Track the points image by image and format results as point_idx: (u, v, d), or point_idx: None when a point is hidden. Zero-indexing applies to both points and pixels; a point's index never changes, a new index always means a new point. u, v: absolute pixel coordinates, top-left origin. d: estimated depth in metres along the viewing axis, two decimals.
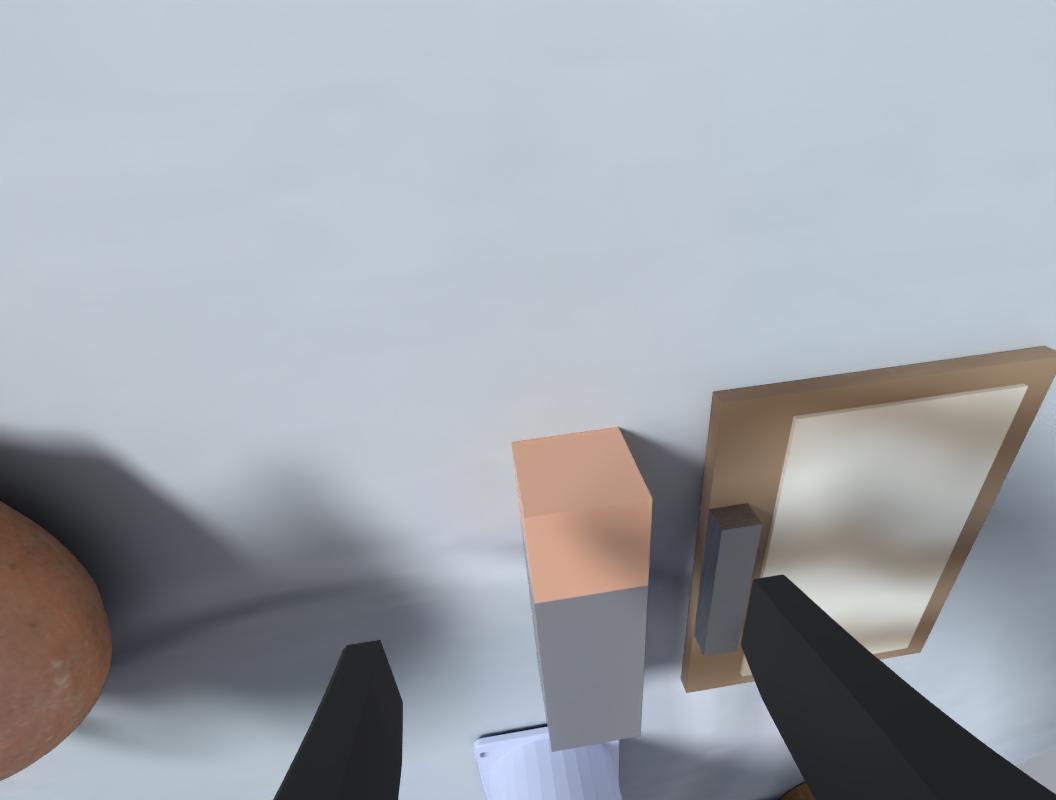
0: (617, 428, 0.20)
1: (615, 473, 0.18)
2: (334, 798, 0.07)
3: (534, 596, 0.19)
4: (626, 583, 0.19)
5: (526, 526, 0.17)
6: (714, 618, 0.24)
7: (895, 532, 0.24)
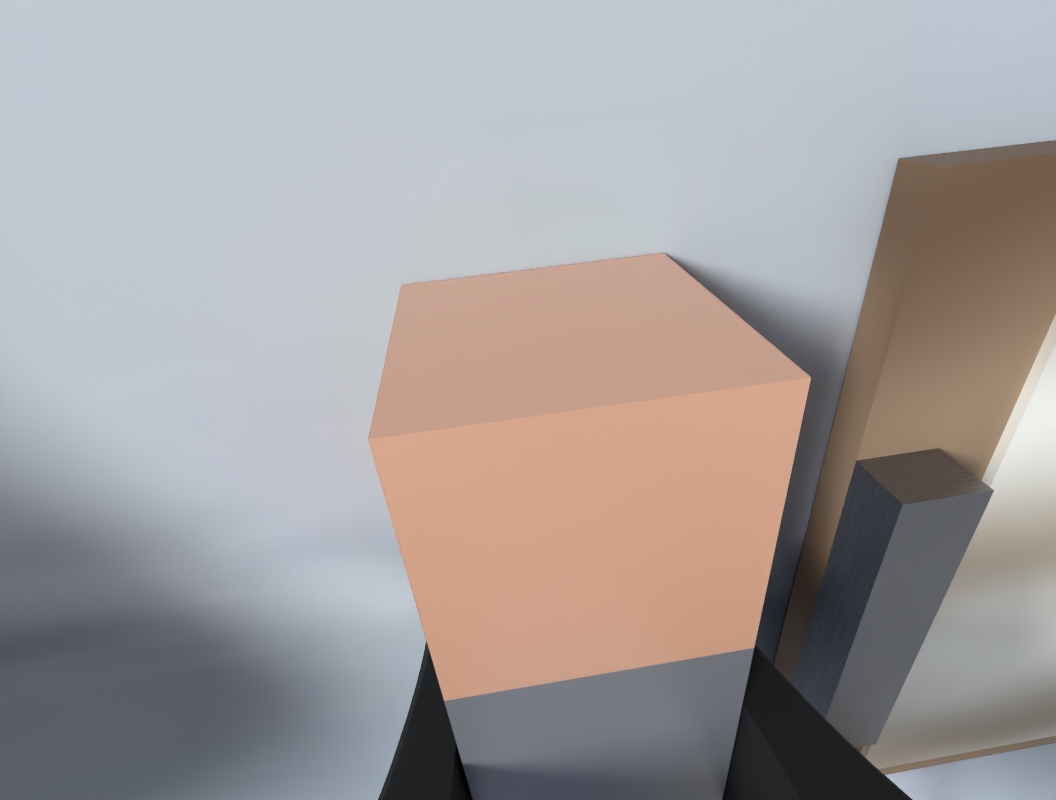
0: (662, 255, 0.08)
1: (673, 327, 0.06)
2: (449, 777, 0.07)
3: (442, 682, 0.07)
4: (695, 643, 0.07)
5: (381, 472, 0.05)
6: (846, 690, 0.12)
7: None
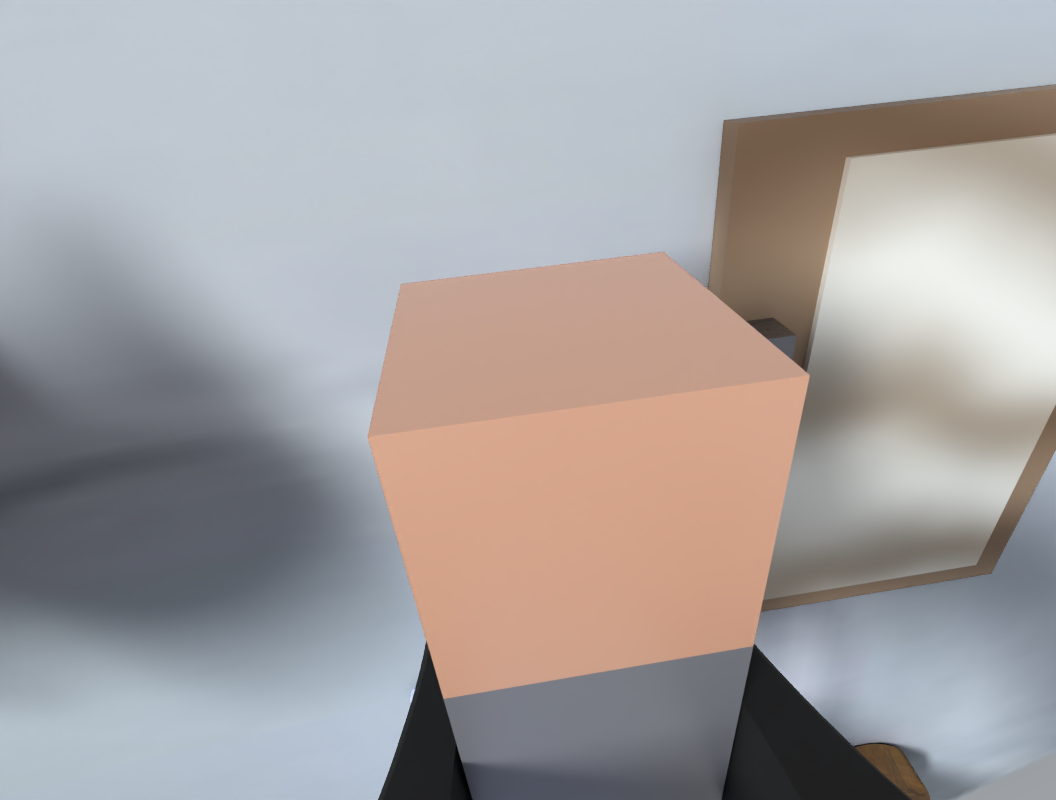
0: (661, 254, 0.08)
1: (673, 324, 0.06)
2: (449, 777, 0.07)
3: (441, 680, 0.07)
4: (694, 641, 0.07)
5: (380, 469, 0.05)
6: None
7: (978, 377, 0.17)
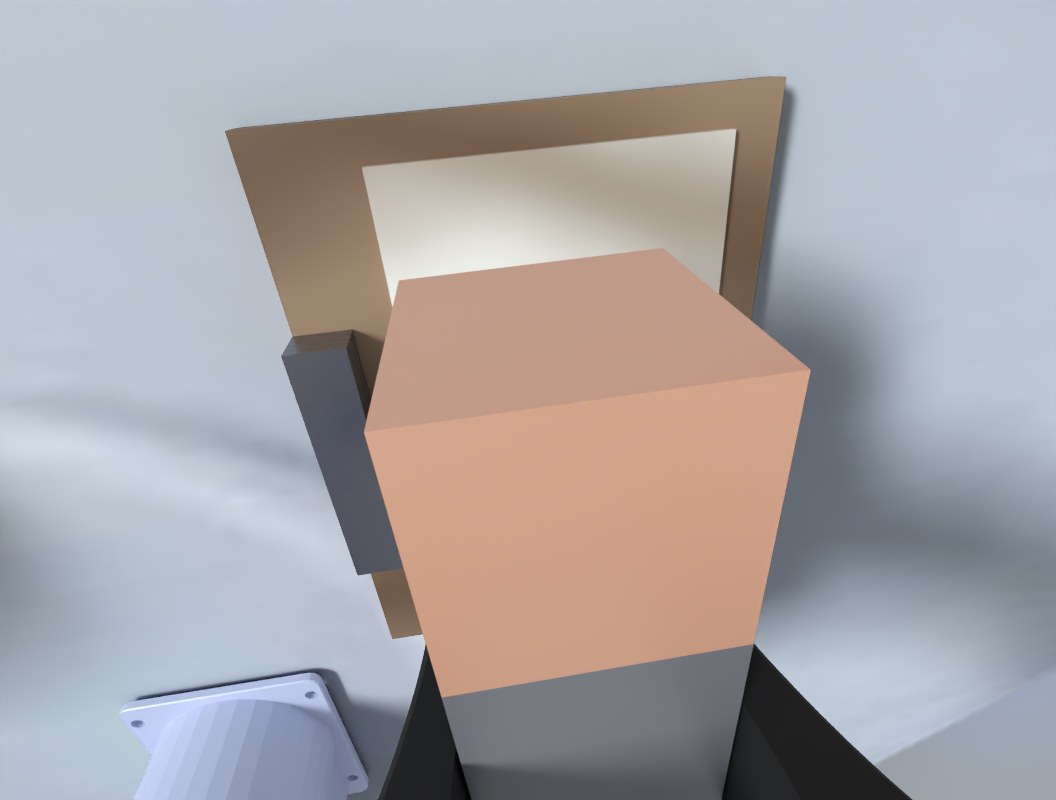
0: (661, 250, 0.08)
1: (673, 320, 0.06)
2: (449, 777, 0.07)
3: (439, 678, 0.07)
4: (694, 640, 0.07)
5: (377, 465, 0.05)
6: (345, 513, 0.17)
7: None
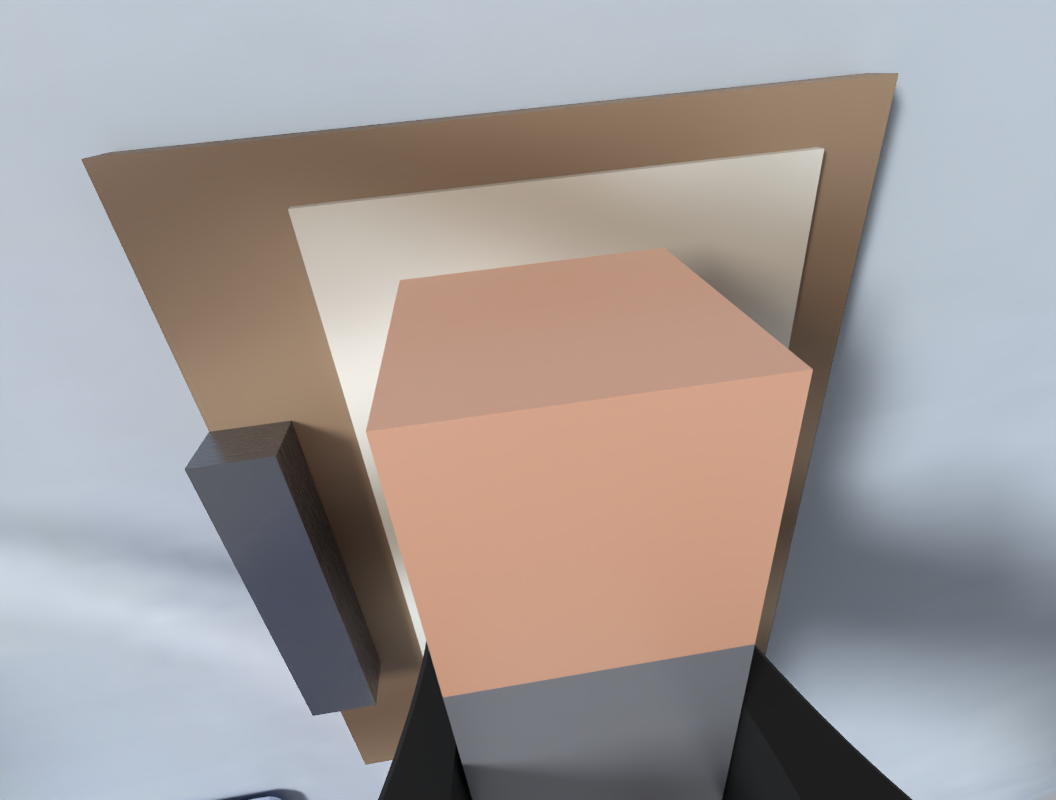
0: (662, 250, 0.08)
1: (674, 319, 0.06)
2: (449, 777, 0.07)
3: (441, 679, 0.07)
4: (696, 640, 0.07)
5: (379, 465, 0.05)
6: (291, 650, 0.13)
7: None
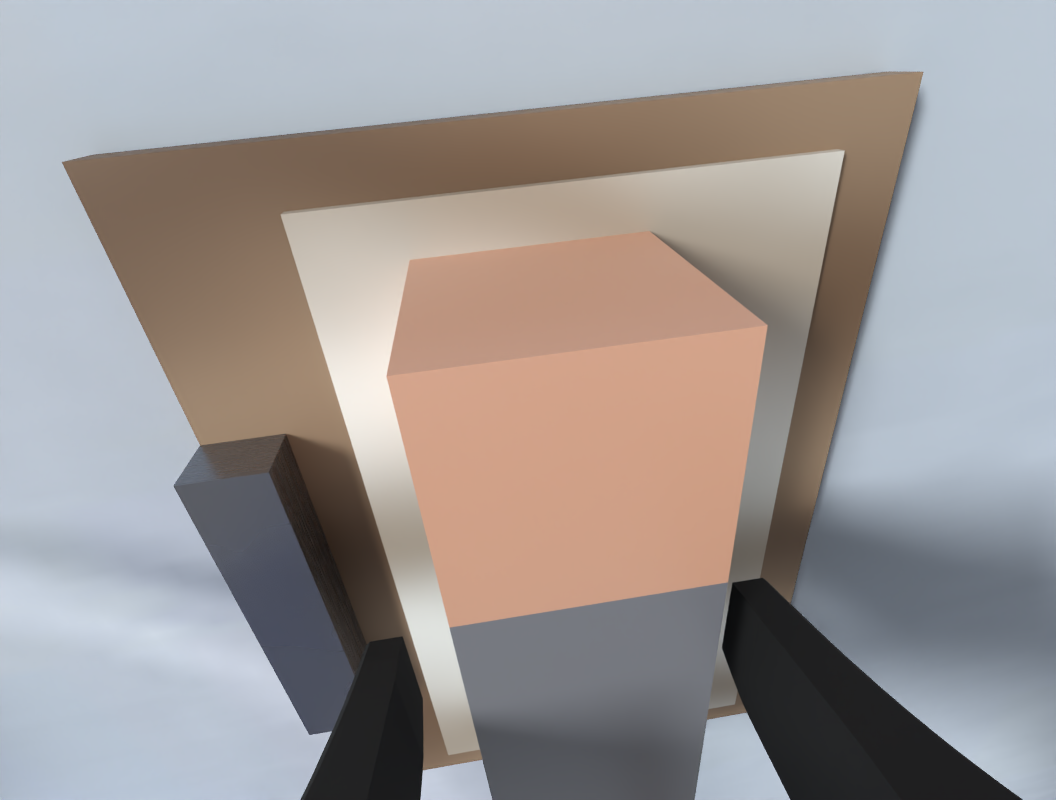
0: (647, 233, 0.09)
1: (653, 289, 0.07)
2: (365, 792, 0.07)
3: (448, 610, 0.08)
4: (674, 577, 0.08)
5: (397, 406, 0.06)
6: (287, 669, 0.12)
7: None
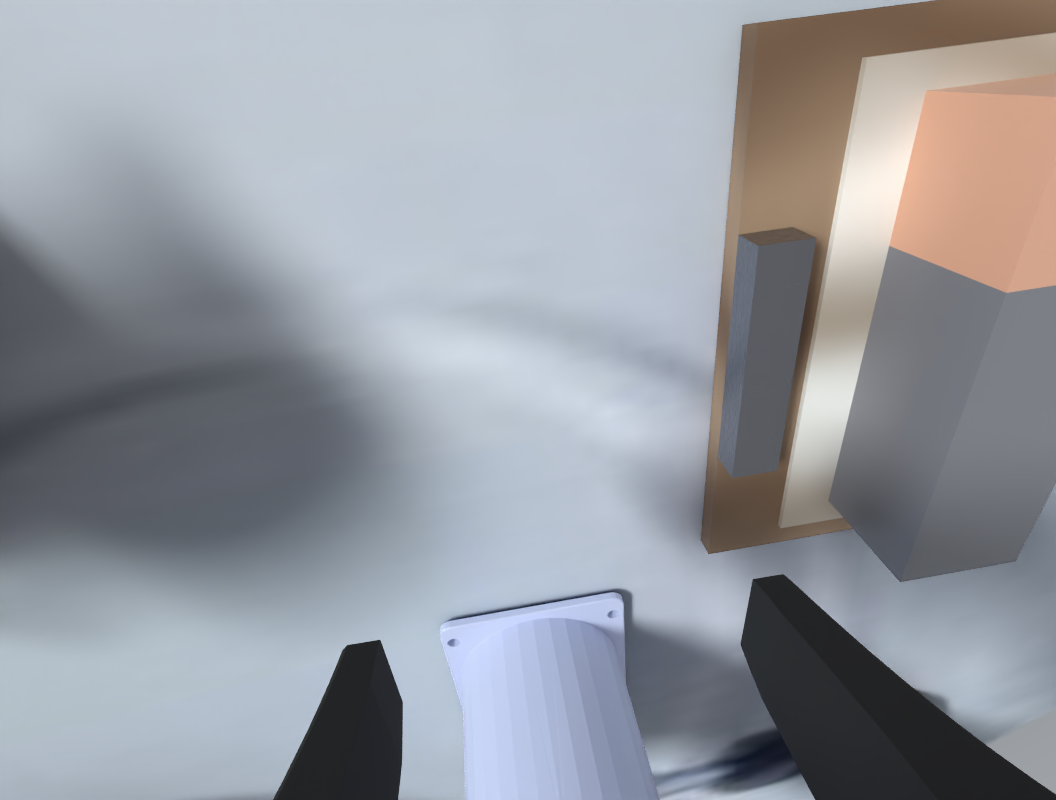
0: None
1: None
2: (334, 798, 0.07)
3: (1010, 279, 0.13)
4: None
5: None
6: (747, 412, 0.17)
7: None
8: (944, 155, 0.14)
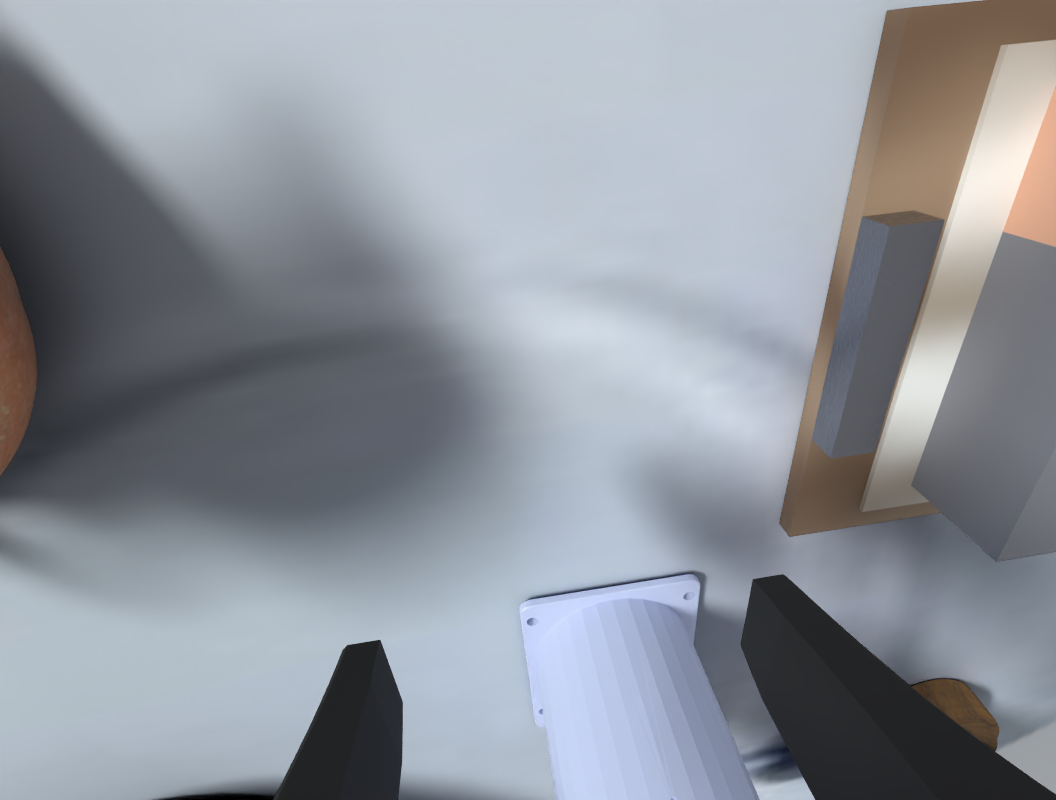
0: None
1: None
2: (334, 798, 0.07)
3: None
4: None
5: None
6: (855, 392, 0.18)
7: None
8: None
